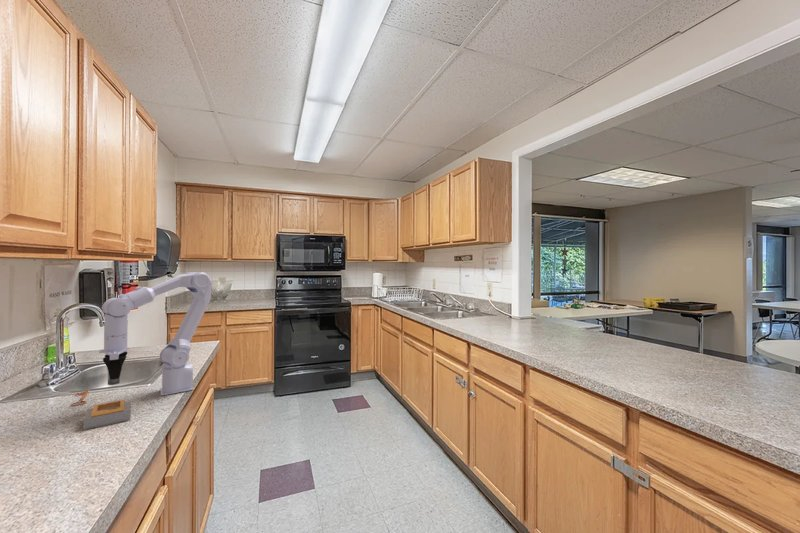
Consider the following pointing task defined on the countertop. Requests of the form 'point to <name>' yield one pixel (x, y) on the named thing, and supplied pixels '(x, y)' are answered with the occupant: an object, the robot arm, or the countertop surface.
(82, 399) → the key
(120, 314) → the robot arm
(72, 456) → the countertop surface
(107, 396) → the countertop surface
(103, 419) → the chuck block
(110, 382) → the peg
